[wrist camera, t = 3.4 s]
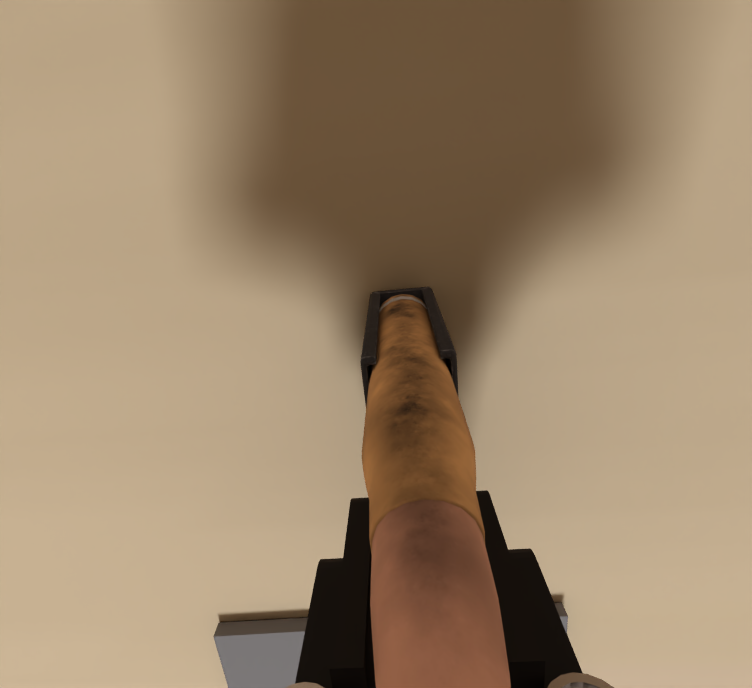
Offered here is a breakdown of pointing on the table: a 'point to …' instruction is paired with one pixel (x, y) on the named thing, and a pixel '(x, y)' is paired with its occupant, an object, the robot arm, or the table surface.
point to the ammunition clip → (424, 507)
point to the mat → (270, 650)
